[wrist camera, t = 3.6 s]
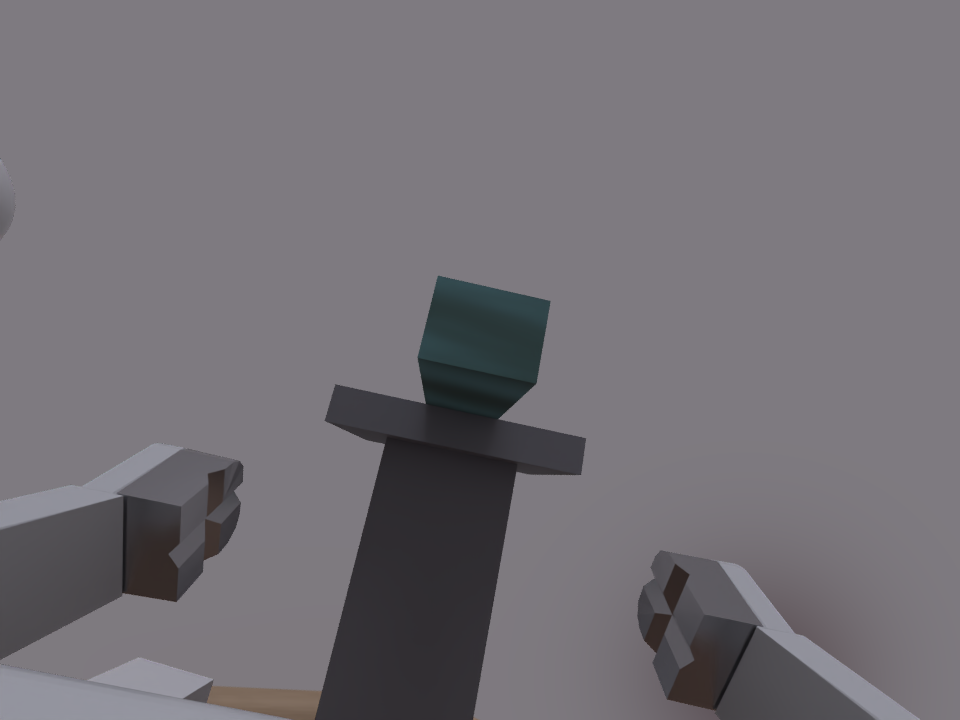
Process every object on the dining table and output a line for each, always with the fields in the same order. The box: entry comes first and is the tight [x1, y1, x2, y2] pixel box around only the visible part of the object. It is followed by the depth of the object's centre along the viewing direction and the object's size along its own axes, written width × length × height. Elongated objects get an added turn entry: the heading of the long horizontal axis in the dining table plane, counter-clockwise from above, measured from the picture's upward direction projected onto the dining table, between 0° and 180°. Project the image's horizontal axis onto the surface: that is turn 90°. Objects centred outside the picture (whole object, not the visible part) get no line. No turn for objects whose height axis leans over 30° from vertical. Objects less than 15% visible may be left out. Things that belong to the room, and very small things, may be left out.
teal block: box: [418, 276, 550, 419], centre depth 29 cm, size 28×4×3 cm, turn 5°
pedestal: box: [315, 385, 586, 720], centre depth 28 cm, size 14×14×26 cm
